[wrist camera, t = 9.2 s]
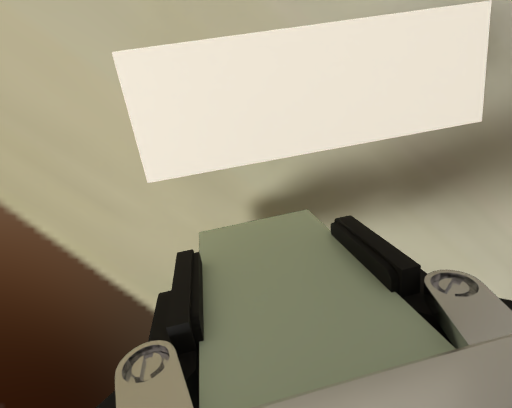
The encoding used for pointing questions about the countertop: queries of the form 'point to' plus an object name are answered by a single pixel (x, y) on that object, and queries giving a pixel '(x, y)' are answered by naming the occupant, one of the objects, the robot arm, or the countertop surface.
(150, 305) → the countertop surface
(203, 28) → the countertop surface
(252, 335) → the domino
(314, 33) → the domino
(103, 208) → the countertop surface
